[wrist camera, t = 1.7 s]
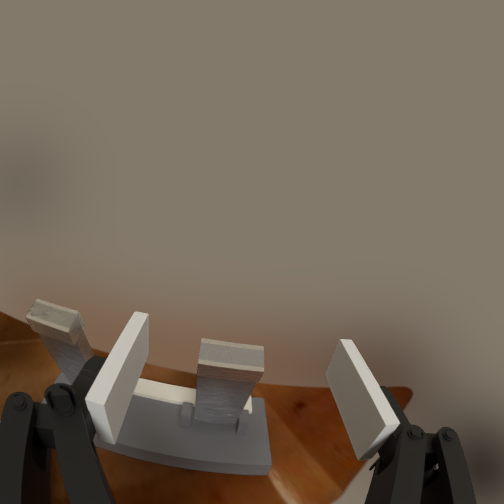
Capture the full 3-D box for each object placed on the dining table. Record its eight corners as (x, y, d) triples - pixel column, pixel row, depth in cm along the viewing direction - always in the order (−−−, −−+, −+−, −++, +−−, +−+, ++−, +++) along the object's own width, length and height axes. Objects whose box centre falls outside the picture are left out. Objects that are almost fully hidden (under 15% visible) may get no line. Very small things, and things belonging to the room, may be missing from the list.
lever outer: (193, 425, 30) (197, 363, 20) (195, 408, 32) (201, 338, 22) (233, 430, 30) (264, 371, 20) (234, 413, 32) (263, 346, 22)
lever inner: (77, 395, 28) (25, 317, 18) (81, 381, 30) (36, 298, 20) (110, 406, 28) (68, 332, 18) (114, 391, 30) (78, 311, 20)
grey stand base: (42, 424, 24) (30, 398, 22) (73, 373, 35) (67, 346, 33) (266, 475, 27) (277, 455, 25) (259, 410, 38) (267, 386, 36)
